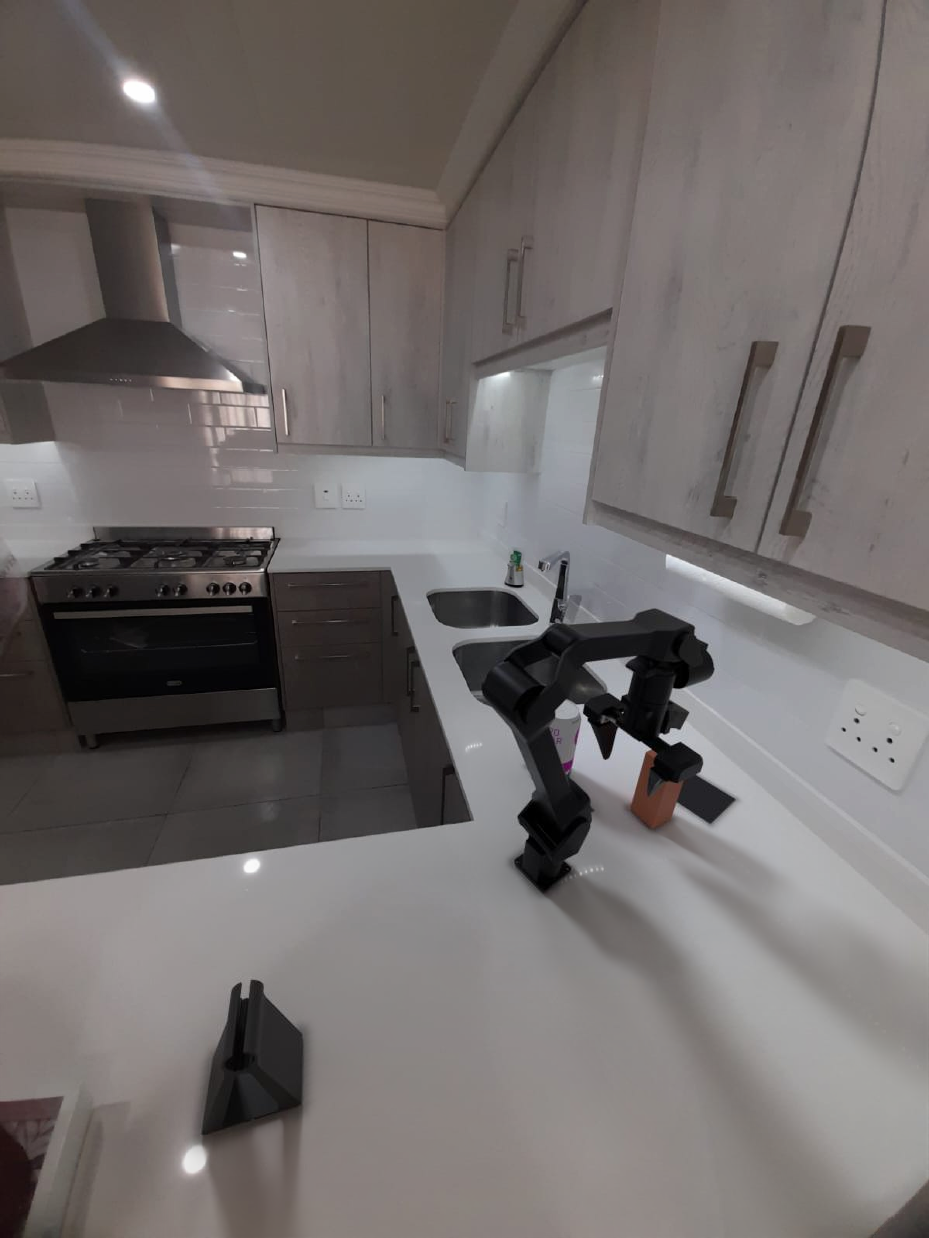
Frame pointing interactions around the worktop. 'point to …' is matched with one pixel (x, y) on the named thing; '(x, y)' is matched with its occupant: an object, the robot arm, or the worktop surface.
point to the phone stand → (253, 1063)
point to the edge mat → (703, 798)
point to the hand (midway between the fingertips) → (627, 776)
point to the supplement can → (566, 732)
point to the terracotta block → (654, 797)
